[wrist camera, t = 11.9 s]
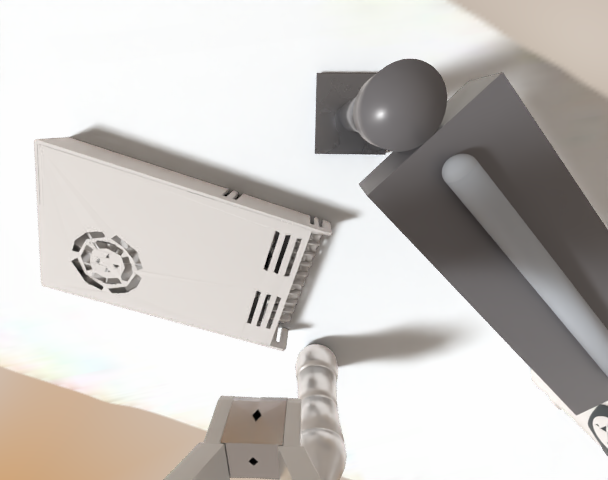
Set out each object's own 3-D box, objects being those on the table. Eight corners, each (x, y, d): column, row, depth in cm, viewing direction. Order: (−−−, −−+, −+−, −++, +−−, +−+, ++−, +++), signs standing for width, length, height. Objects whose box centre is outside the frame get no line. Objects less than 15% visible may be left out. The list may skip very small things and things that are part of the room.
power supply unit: (288, 327, 44) (285, 352, 39) (71, 267, 41) (41, 285, 36) (329, 219, 37) (332, 234, 32) (71, 135, 34) (33, 138, 29)
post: (392, 74, 29) (472, 27, 15) (383, 153, 33) (442, 180, 18) (316, 74, 30) (320, 27, 15) (314, 152, 33) (316, 178, 18)
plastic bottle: (333, 335, 43) (348, 494, 25) (339, 367, 46) (357, 532, 27) (292, 340, 44) (277, 499, 25) (300, 372, 46) (293, 536, 28)
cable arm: (314, 137, 17) (314, 142, 13) (424, 19, 14) (471, -24, 10) (545, 381, 24) (595, 437, 20) (645, 329, 21) (726, 380, 17)
